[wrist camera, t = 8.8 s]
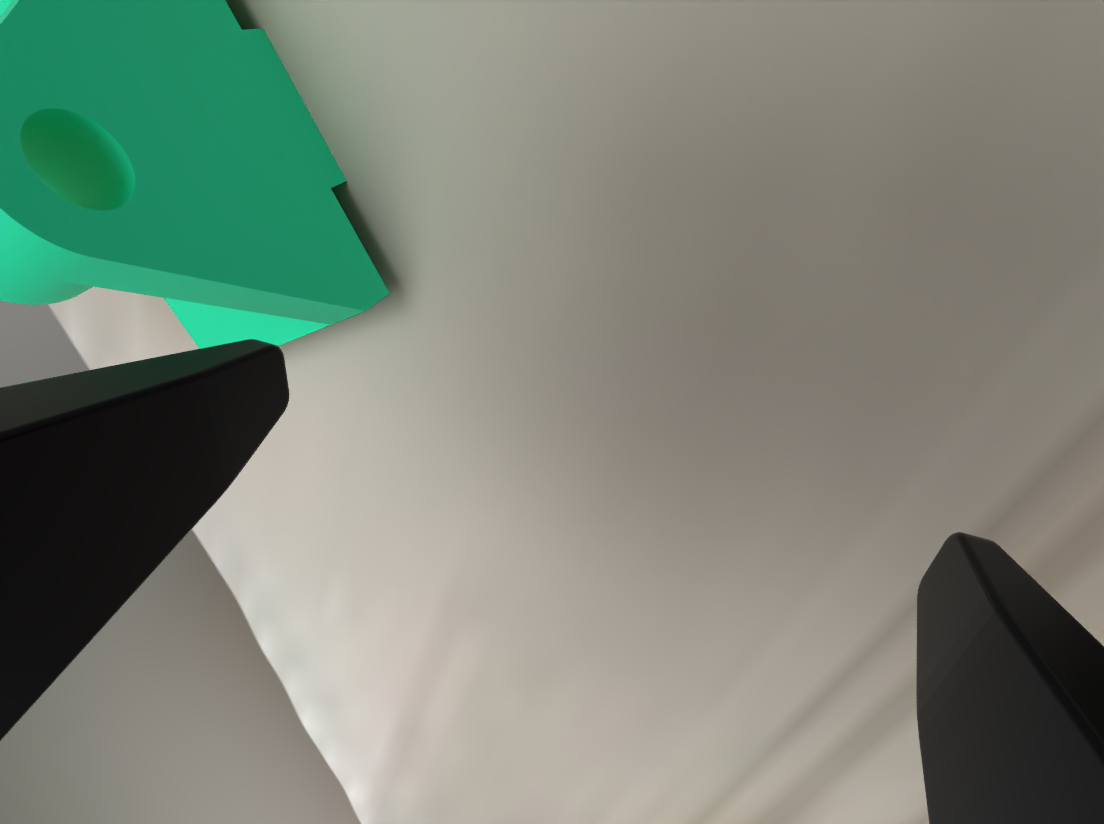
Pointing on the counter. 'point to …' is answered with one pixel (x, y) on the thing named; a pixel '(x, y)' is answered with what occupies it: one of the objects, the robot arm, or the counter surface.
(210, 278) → the camera mount
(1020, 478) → the counter surface
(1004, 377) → the counter surface
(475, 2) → the counter surface
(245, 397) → the robot arm
